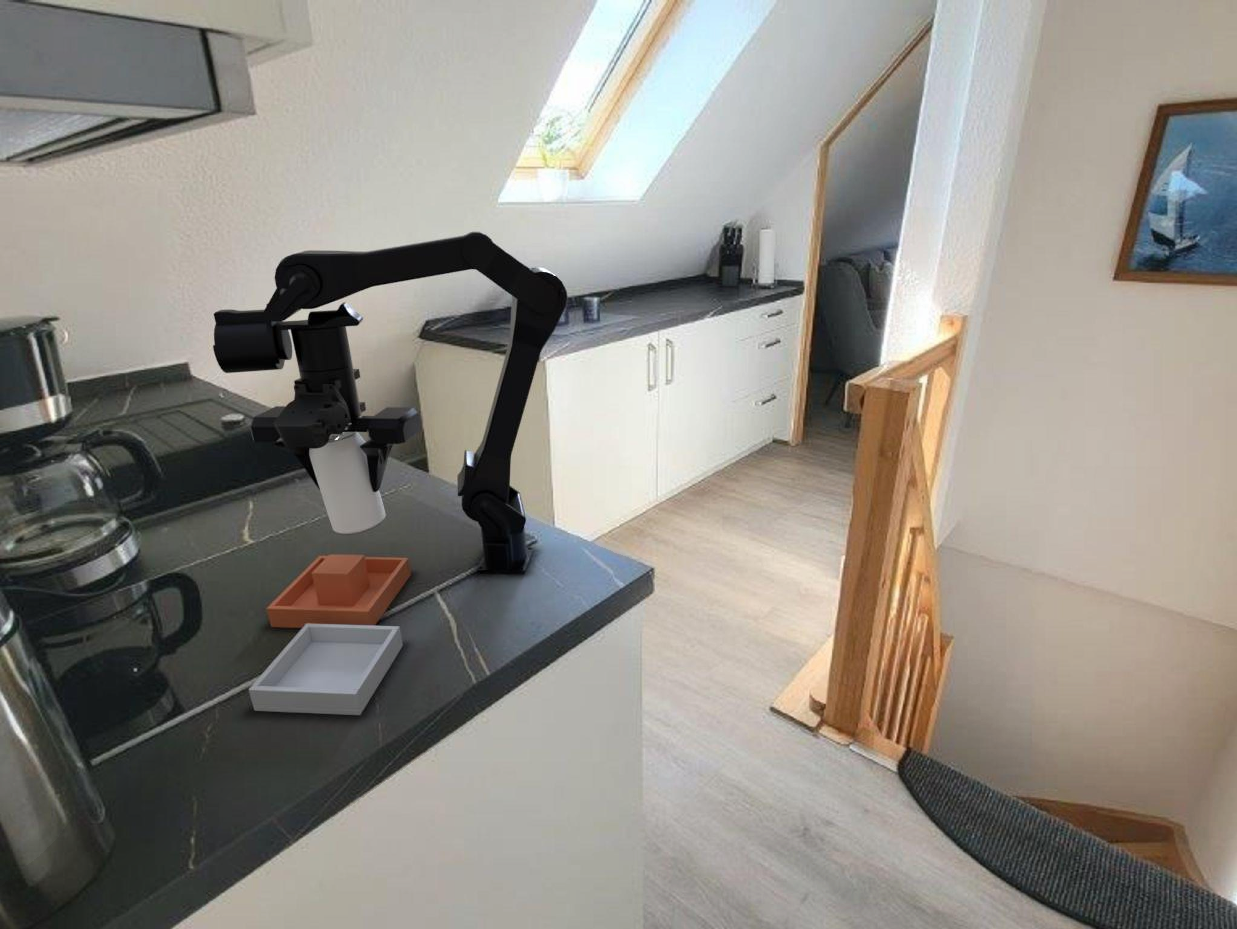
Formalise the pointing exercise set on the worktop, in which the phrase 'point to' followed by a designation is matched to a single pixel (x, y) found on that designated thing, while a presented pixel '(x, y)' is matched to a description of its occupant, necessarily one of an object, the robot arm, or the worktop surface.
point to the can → (347, 484)
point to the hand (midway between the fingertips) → (349, 490)
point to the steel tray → (327, 669)
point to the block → (341, 579)
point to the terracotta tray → (303, 607)
